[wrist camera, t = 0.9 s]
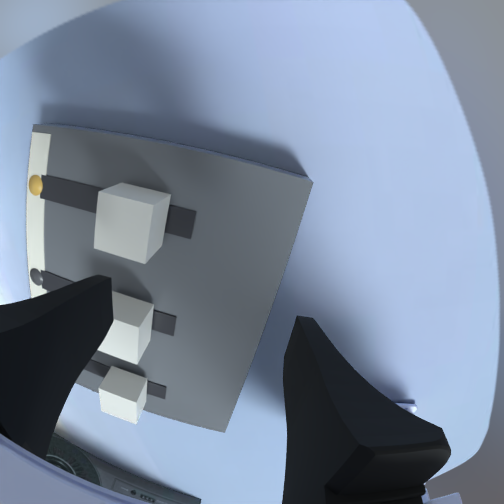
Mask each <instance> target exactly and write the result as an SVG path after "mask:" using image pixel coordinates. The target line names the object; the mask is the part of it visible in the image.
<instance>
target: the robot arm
mask: <svg viewBox="0 0 504 504" xmlns="http://www.w3.org/2000/svg"><path fill="white" fill-rule="evenodd" d="M113 321H114V317H113V301H112V279H111V277H107V276H103V275H99V274H98V275H94V276H91V277H88V278H85V279H82V280H80V281H77V282H75V283H72V284H69V285H67V286H64V287H62V288H59V289H57V290H54V291H51V292H48V293H45V294H42V295H40V296H37V297H34V298H30V299H27V300H23V301H19V302H15V303H11V304H5V305H0V504H151V503H148V502H144V501H141V500H138V499H135V498H131V497H128V496H125V495H122V494H120V493H117V492H114V491H111V490H109V489H106V488H103V487H101V486H98V485H96V484H93V483H91V482H89V481H86V480H84V479H82V478H79V477H77V476H75V475H73V474H71V473H68V472H66V471H64V470H62V469H60V468H58V467H56V466H54V465H52V464H50V463H48V462H47V461H45V459H46V455H47V452H48V448H49V444H50V441H51V438H52V435H53V432H54V429H55V426H56V423H57V421H58V418H59V416H60V413H61V411H62V409H63V406H64V404H65V402H66V400H67V397H68V395H69V393H70V391H71V389H72V387H73V385H74V384H75V382H76V380H77V378H78V377H79V375H80V374H81V372H82V371H83V370H84V368H85V367H86V365H87V364H88V362H89V361H90V359H91V358H92V357H93V355H94V354H95V352H96V351H97V349H98V348H99V346H100V345H101V344H102V342H103V341H104V339H105V337H106V335H107V333H108V331H109V329H110V327H111V325H112V323H113ZM283 386H284V398H285V410H286V421H287V453H286V469H285V481H284V491H283V500H282V504H462V500H461V498H460V494H459V493H453V494H450V495H447V496H443V497H439V498H436V499H432V500H430V498H429V495H428V492H427V489H426V488H425V486H424V485H425V483H426V482H427V481H428V480H429V479H430V478H431V477H432V476H433V475H435V474H436V473H437V472H438V471H439V470H440V469H441V468H442V467H443V466H444V465H445V464H446V463H447V461H448V459H449V457H450V455H451V449H450V446H449V444H448V441H447V439H446V437H445V434H444V432H443V430H442V428H440V427H438V426H436V425H434V424H432V423H430V422H427V421H425V420H423V419H421V418H419V417H417V416H415V415H413V413H414V412H415V411H416V410H417V405H416V404H404V403H394V402H392V401H391V400H390V399H388V398H387V397H386V396H384V395H383V394H382V393H380V392H379V391H378V390H376V389H375V388H374V387H373V386H372V385H370V384H369V383H368V382H367V381H366V380H365V379H364V378H363V377H362V376H361V375H359V374H358V373H357V372H356V371H355V370H354V368H353V367H352V366H351V365H350V364H349V363H348V362H347V361H346V360H345V359H344V357H343V356H342V355H341V354H340V353H339V351H338V350H337V349H336V348H335V347H334V345H333V344H332V343H331V341H330V340H329V339H328V337H327V336H326V335H325V333H324V332H323V331H322V329H321V328H320V327H319V325H318V324H317V323H316V321H315V320H314V319H313V318H309V317H303V316H297V317H296V321H295V324H294V327H293V330H292V334H291V337H290V340H289V343H288V346H287V350H286V353H285V356H284V368H283Z"/></svg>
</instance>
